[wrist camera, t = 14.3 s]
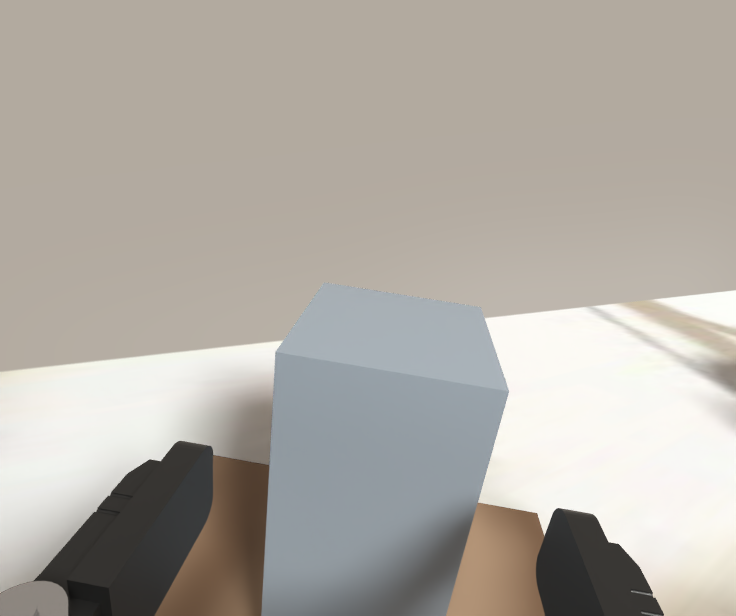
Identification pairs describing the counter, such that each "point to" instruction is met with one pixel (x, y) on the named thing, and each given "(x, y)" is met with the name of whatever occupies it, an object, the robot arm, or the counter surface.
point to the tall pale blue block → (377, 453)
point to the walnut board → (247, 551)
